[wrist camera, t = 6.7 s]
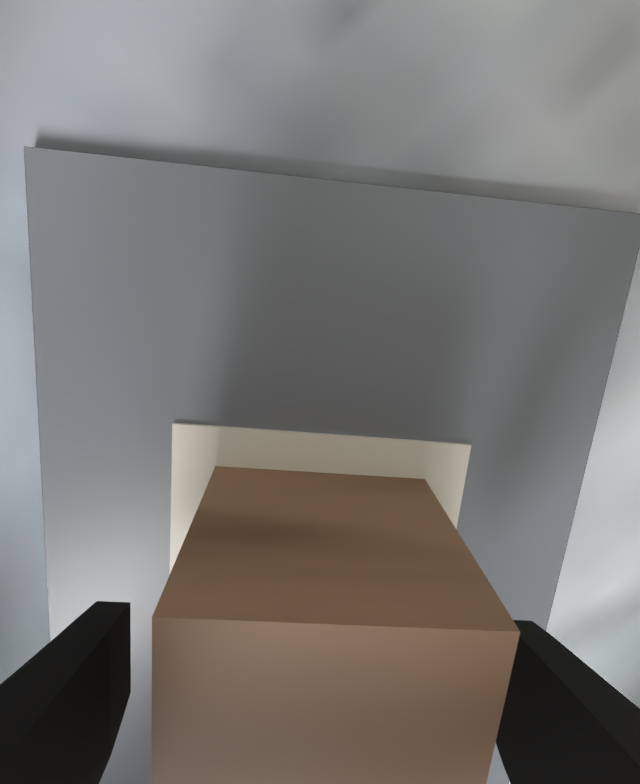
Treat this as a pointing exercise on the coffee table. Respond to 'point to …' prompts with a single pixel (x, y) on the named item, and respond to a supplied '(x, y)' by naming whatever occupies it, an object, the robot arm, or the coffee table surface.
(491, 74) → the coffee table surface
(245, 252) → the board
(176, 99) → the coffee table surface
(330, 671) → the walnut block
